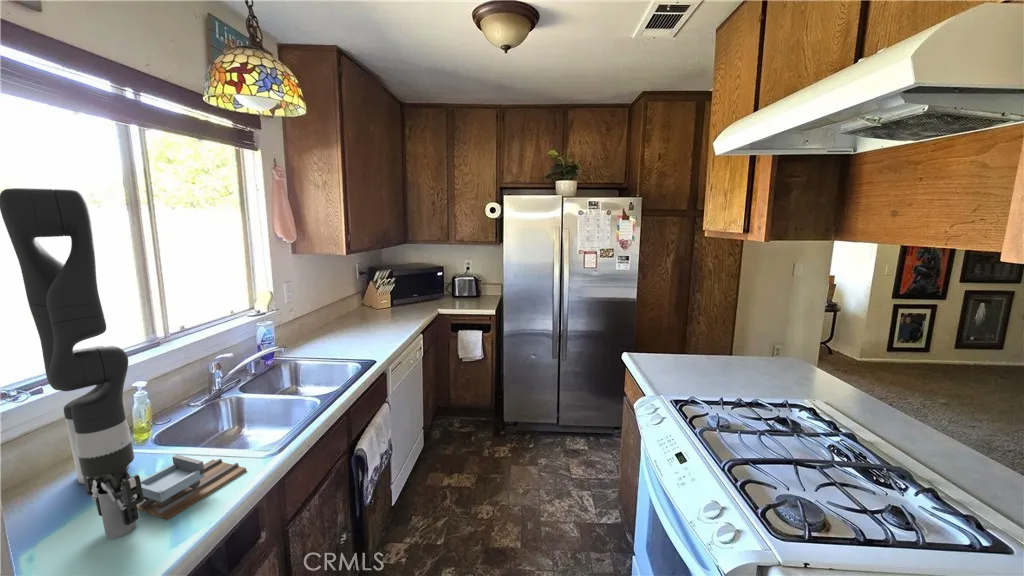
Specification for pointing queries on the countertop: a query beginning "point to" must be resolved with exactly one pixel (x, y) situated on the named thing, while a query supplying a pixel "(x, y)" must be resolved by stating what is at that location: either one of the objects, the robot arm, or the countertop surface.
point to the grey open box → (173, 479)
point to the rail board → (194, 490)
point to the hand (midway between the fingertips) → (118, 517)
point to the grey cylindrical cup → (113, 516)
